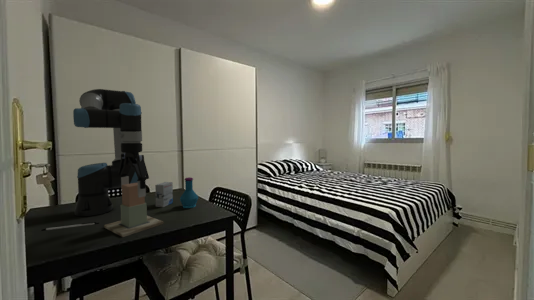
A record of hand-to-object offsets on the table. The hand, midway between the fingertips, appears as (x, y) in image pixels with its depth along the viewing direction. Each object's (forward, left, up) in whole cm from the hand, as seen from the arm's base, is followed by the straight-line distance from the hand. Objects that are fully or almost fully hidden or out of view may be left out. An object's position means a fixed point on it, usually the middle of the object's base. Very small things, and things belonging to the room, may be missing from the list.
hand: (133, 194), depth 96 cm
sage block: (0, 0, -12) cm, 12 cm away
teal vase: (-4, +30, -13) cm, 33 cm away
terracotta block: (0, 0, -4) cm, 4 cm away
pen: (-20, -15, -14) cm, 29 cm away
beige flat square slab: (0, 0, -13) cm, 13 cm away
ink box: (-17, +24, -13) cm, 32 cm away
